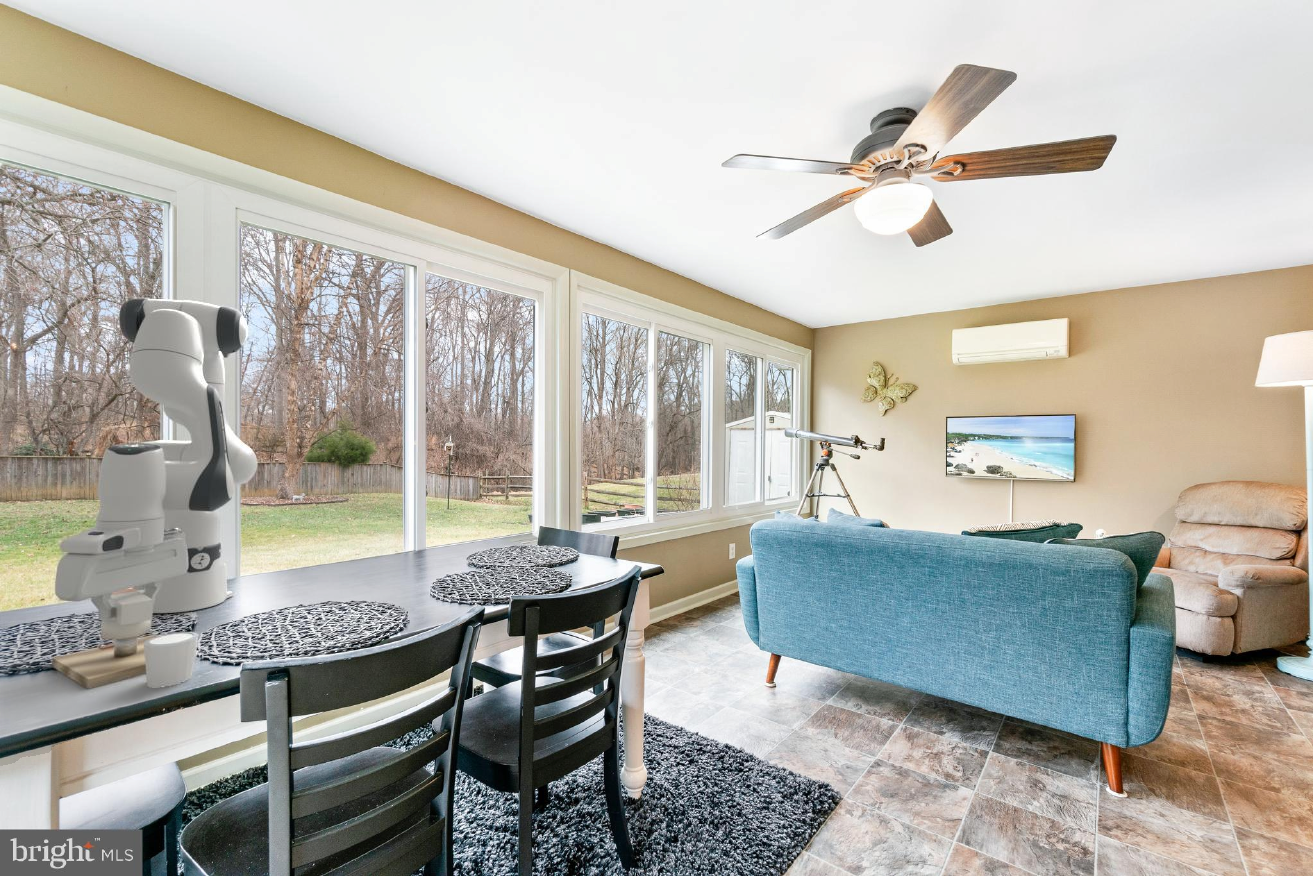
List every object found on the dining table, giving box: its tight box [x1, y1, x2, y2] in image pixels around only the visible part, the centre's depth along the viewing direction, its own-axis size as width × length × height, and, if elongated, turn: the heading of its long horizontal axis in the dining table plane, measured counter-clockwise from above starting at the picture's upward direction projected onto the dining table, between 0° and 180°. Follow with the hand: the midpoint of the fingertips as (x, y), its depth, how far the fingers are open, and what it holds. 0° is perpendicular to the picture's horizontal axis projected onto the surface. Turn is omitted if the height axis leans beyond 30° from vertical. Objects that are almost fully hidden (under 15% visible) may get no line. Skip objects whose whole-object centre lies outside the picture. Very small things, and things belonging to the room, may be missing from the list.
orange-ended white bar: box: [100, 588, 154, 640], centre depth 98 cm, size 6×11×6 cm, turn 57°
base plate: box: [51, 634, 159, 690], centre depth 98 cm, size 16×14×2 cm
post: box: [113, 636, 139, 658], centre depth 98 cm, size 3×3×4 cm
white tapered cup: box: [144, 631, 199, 688], centre depth 92 cm, size 7×7×7 cm
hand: (127, 612), depth 98 cm, fingers closed on orange-ended white bar, 5 cm apart
